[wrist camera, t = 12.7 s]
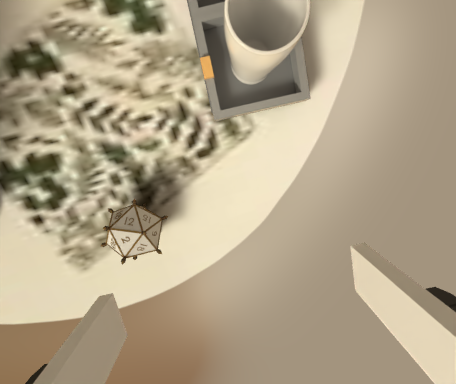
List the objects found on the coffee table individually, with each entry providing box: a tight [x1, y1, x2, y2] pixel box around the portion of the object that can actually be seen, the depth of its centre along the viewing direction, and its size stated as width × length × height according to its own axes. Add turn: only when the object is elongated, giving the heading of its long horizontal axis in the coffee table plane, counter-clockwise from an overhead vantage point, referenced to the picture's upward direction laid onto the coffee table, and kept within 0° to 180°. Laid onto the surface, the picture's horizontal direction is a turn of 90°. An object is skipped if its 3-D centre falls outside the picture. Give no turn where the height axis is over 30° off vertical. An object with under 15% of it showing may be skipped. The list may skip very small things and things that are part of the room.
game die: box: [101, 199, 168, 264], centre depth 36 cm, size 9×8×10 cm
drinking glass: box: [224, 0, 311, 85], centre depth 27 cm, size 7×7×15 cm
